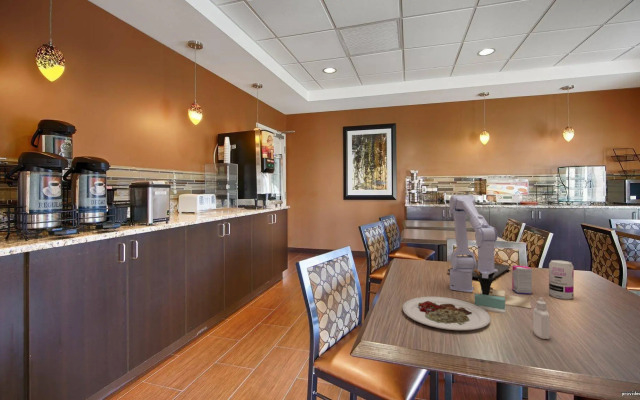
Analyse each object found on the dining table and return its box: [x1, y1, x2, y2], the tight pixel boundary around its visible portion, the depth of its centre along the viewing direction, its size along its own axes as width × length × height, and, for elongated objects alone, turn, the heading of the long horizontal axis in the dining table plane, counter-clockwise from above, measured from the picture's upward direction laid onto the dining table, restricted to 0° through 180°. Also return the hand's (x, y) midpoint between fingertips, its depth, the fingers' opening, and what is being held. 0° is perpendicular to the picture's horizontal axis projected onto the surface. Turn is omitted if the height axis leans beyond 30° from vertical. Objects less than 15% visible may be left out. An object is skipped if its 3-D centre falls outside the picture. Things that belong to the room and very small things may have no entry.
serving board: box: [447, 258, 511, 279], centre depth 168 cm, size 39×23×6 cm, turn 133°
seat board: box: [479, 287, 532, 310], centre depth 125 cm, size 18×12×4 cm, turn 58°
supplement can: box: [548, 259, 575, 301], centre depth 127 cm, size 8×8×15 cm
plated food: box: [402, 296, 491, 331], centre depth 111 cm, size 30×30×3 cm
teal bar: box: [473, 292, 506, 310], centre depth 118 cm, size 10×4×4 cm, turn 58°
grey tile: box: [477, 305, 506, 315], centre depth 117 cm, size 9×9×1 cm
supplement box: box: [511, 265, 533, 295], centre depth 134 cm, size 6×6×12 cm
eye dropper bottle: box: [532, 297, 551, 340], centre depth 94 cm, size 4×6×12 cm
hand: (486, 291), depth 118 cm, fingers open, 7 cm apart
